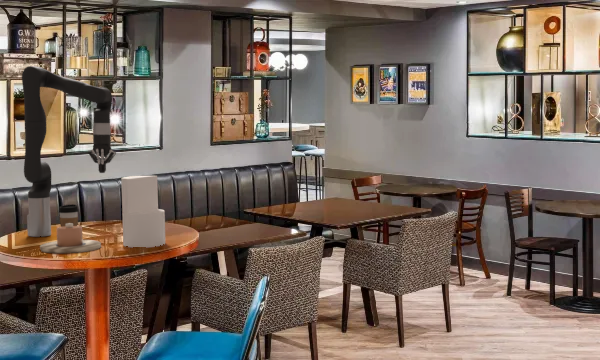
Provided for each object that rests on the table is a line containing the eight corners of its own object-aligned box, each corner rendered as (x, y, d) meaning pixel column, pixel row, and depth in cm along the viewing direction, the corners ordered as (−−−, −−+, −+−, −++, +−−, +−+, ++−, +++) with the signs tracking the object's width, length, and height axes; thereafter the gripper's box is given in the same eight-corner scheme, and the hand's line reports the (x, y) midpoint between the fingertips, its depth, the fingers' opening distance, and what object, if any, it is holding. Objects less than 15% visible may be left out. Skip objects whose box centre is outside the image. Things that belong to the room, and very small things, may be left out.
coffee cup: (83, 238, 363) (82, 204, 362) (72, 241, 355) (70, 207, 354) (67, 238, 366) (65, 204, 364) (55, 241, 358) (54, 206, 356)
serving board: (27, 251, 332) (27, 248, 332) (61, 242, 355) (61, 238, 355) (80, 254, 325) (80, 250, 325) (111, 244, 348) (111, 240, 348)
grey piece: (114, 245, 346) (112, 178, 343) (144, 239, 360) (142, 175, 357) (144, 249, 336) (142, 180, 333) (174, 242, 350) (172, 176, 348)
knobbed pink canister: (52, 246, 336) (51, 225, 335) (66, 242, 345) (65, 221, 345) (73, 247, 333) (72, 226, 332) (87, 243, 342) (86, 222, 341)
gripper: (84, 133, 363) (84, 172, 365) (111, 134, 359) (111, 174, 361) (93, 132, 370) (93, 171, 372) (119, 133, 367) (119, 172, 368)
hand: (102, 172), depth 366 cm, fingers closed
